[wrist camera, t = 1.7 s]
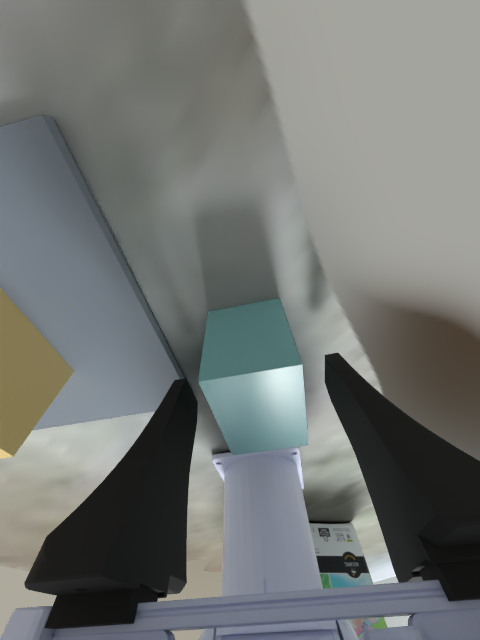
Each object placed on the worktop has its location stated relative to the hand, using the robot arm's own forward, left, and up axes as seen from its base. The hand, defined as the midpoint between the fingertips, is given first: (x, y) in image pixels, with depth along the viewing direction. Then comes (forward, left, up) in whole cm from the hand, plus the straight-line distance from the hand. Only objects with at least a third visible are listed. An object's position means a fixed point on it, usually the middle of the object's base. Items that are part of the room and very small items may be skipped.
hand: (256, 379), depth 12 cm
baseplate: (+4, +12, -3) cm, 13 cm away
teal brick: (0, 0, -3) cm, 3 cm away
